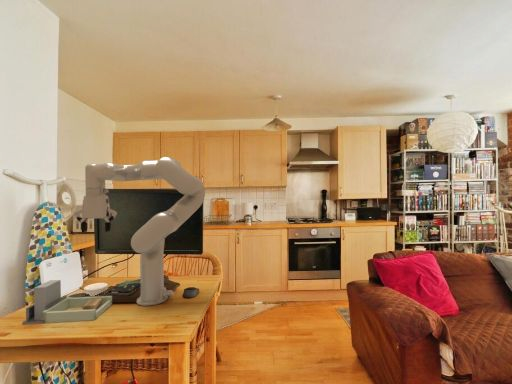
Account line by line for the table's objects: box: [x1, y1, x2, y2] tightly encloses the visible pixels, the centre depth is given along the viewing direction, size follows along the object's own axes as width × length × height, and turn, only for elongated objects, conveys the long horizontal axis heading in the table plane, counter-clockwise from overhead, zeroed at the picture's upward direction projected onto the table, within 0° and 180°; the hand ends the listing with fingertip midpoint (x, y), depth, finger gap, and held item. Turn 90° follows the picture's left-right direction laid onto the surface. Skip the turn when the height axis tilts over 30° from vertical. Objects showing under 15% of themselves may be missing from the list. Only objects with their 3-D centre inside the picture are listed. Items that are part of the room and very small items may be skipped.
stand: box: [21, 295, 68, 325], centre depth 108 cm, size 7×16×5 cm, turn 5°
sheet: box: [33, 279, 62, 320], centre depth 108 cm, size 4×9×12 cm, turn 4°
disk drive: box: [108, 280, 140, 294], centre depth 135 cm, size 10×3×15 cm
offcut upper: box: [82, 298, 102, 310], centre depth 109 cm, size 4×7×2 cm, turn 11°
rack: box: [43, 295, 113, 324], centre depth 109 cm, size 18×15×4 cm
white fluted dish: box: [83, 282, 109, 297], centre depth 132 cm, size 10×10×4 cm
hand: (96, 231), depth 120 cm, fingers open, 9 cm apart
